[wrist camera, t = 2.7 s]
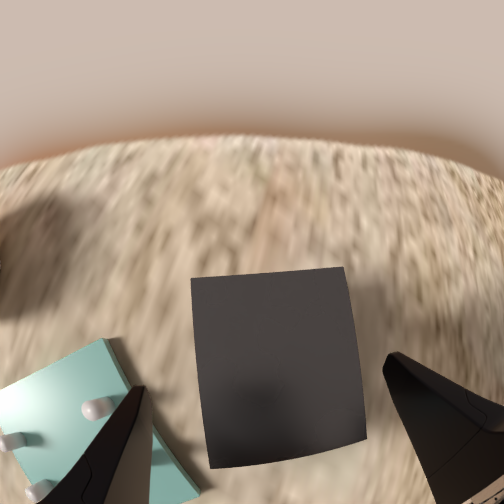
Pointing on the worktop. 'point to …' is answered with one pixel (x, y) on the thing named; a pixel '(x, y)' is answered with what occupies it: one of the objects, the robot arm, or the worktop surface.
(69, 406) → the pin tray
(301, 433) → the plate
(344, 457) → the worktop surface
